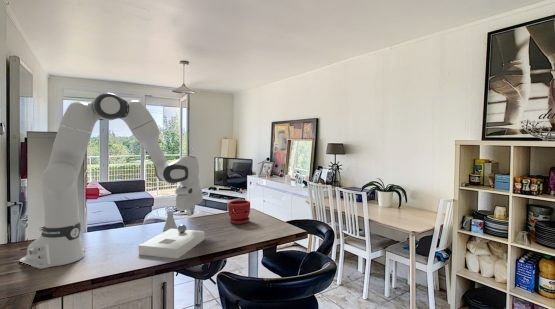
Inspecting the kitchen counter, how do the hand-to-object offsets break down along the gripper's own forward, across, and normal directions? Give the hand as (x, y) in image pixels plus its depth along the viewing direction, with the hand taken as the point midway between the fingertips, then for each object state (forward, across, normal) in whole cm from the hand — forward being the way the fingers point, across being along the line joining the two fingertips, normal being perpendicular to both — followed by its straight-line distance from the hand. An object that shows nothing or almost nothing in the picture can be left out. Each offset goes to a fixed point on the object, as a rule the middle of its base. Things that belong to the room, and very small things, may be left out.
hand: (190, 215), depth 147 cm
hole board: (+10, +15, 0) cm, 18 cm away
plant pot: (+11, -30, +15) cm, 35 cm away
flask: (+11, -6, -15) cm, 20 cm away
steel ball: (+4, +8, 0) cm, 9 cm away
